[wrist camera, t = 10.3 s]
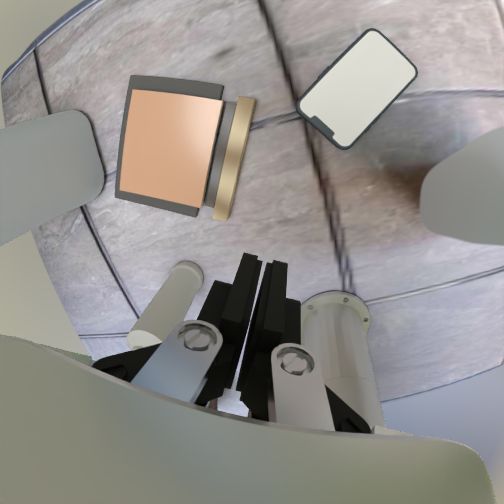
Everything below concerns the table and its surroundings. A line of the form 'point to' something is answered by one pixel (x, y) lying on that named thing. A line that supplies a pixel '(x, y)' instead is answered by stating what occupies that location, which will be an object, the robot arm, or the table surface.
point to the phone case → (357, 89)
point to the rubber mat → (137, 84)
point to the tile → (169, 146)
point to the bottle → (167, 306)
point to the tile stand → (229, 156)
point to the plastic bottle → (46, 171)
